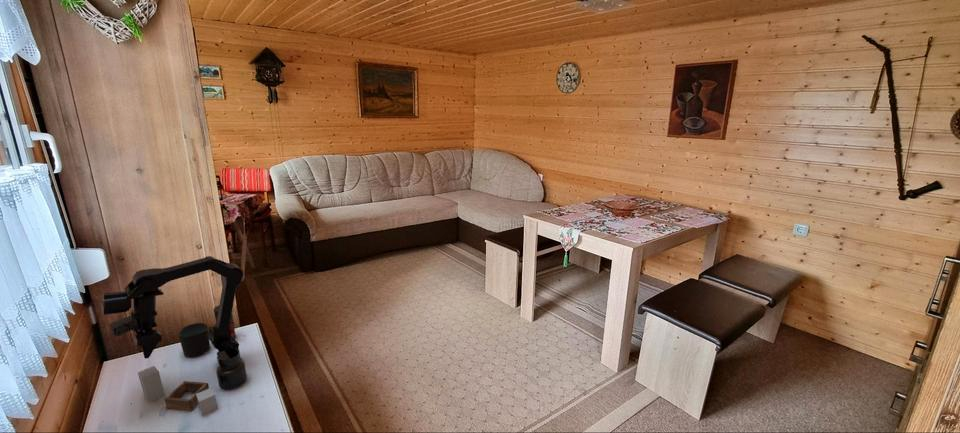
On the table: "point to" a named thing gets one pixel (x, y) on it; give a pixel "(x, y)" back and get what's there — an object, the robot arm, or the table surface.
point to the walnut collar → (183, 404)
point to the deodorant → (230, 321)
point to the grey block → (206, 401)
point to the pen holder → (194, 340)
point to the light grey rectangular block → (151, 384)
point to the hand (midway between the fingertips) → (144, 351)
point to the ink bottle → (230, 369)
